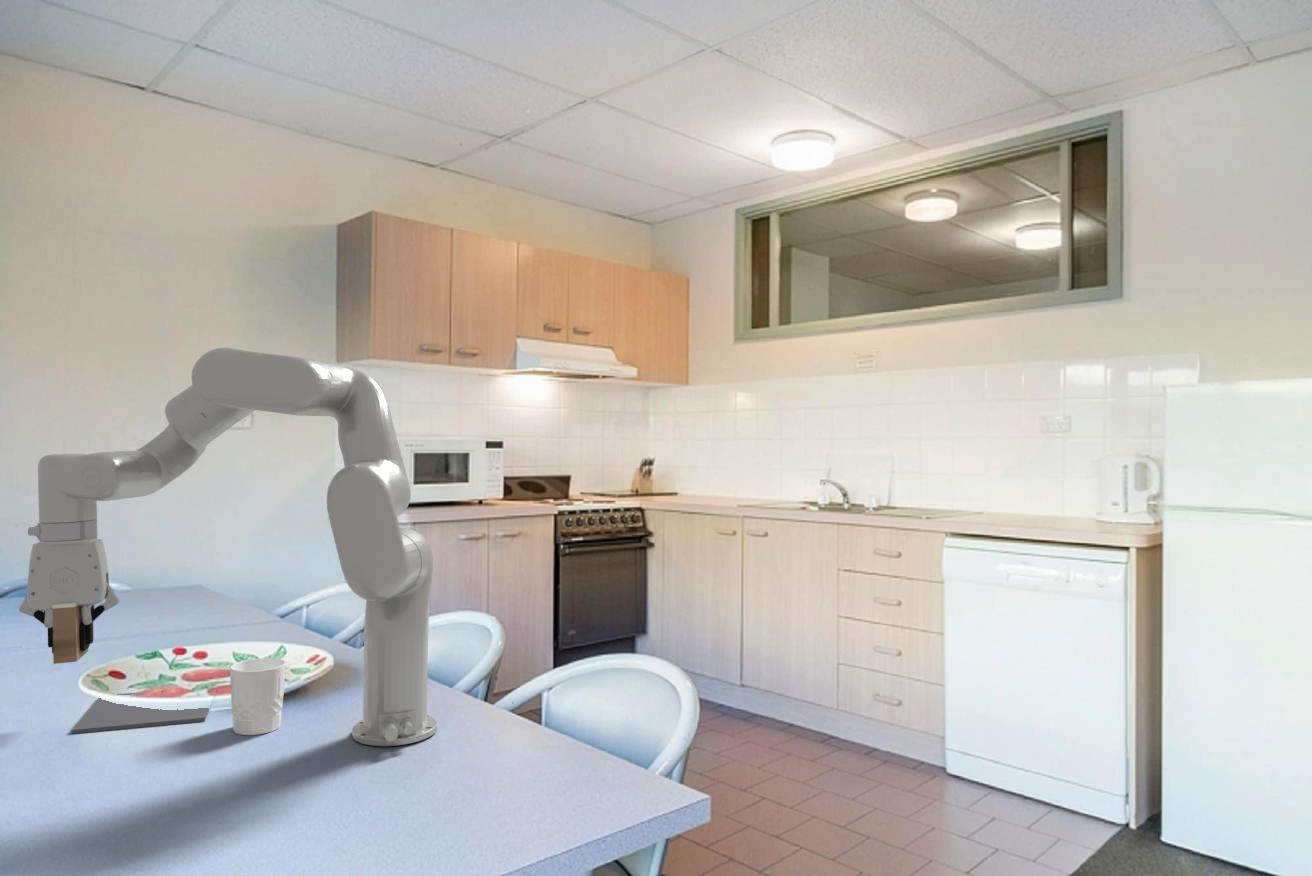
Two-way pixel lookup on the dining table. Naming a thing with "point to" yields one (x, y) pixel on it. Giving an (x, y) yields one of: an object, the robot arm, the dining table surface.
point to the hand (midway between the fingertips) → (71, 649)
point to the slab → (67, 632)
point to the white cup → (257, 695)
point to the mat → (133, 717)
